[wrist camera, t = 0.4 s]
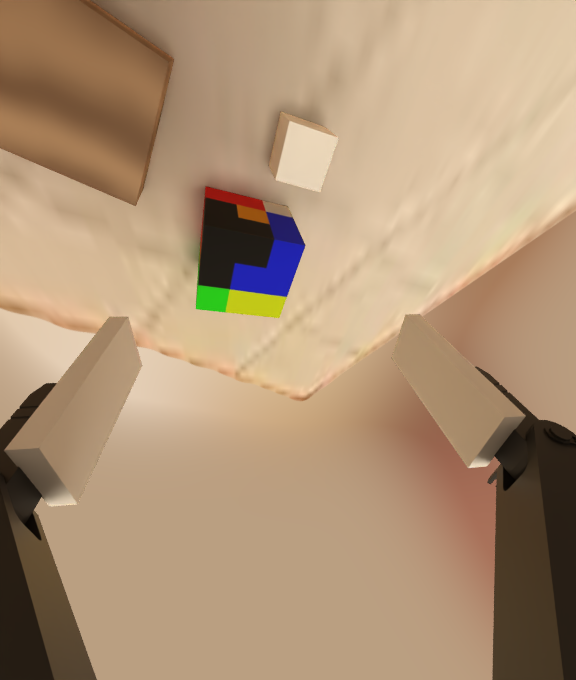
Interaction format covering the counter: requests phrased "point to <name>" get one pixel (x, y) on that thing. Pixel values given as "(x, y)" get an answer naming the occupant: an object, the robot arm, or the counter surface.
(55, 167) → the walnut block
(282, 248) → the puzzle toy
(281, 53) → the counter surface
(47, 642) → the robot arm
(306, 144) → the beige wooden block
